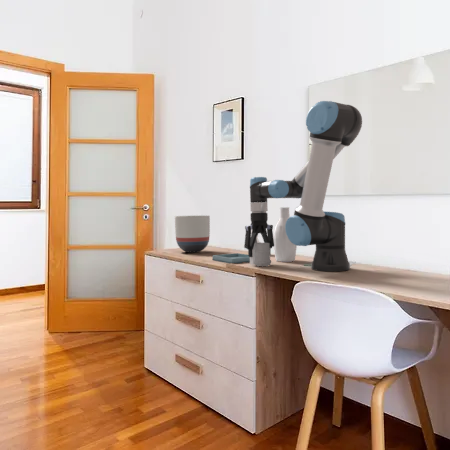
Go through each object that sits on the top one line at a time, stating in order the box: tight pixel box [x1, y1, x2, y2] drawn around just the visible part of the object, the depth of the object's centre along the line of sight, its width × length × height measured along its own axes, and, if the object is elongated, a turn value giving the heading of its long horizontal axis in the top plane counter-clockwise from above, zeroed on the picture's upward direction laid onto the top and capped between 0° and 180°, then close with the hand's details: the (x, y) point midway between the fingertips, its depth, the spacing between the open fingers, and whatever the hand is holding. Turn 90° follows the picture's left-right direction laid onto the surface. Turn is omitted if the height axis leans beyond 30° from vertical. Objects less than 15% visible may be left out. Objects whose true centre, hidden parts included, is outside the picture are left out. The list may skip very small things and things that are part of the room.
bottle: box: [273, 206, 298, 263], centre depth 201 cm, size 11×11×25 cm
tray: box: [212, 252, 250, 264], centre depth 205 cm, size 18×15×2 cm
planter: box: [174, 214, 211, 253], centre depth 249 cm, size 20×20×21 cm
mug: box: [253, 239, 272, 267], centre depth 188 cm, size 8×12×12 cm, turn 28°
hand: (259, 263), depth 188 cm, fingers closed on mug, 7 cm apart
